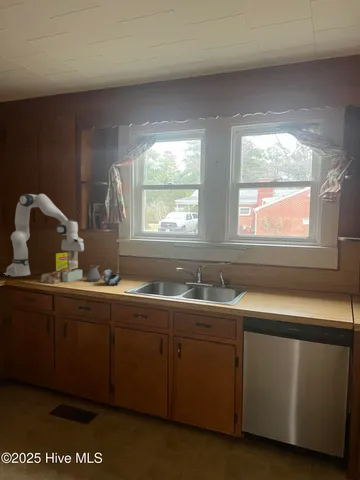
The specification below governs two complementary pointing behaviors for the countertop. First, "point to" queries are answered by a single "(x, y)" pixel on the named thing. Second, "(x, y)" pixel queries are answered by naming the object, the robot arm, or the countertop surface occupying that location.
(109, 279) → the blue-grey irregular lump
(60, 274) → the offcut top
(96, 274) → the coffee pot
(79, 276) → the slot stand
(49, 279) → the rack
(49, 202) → the robot arm
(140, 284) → the countertop surface
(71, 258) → the birch sheet
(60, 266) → the food package
